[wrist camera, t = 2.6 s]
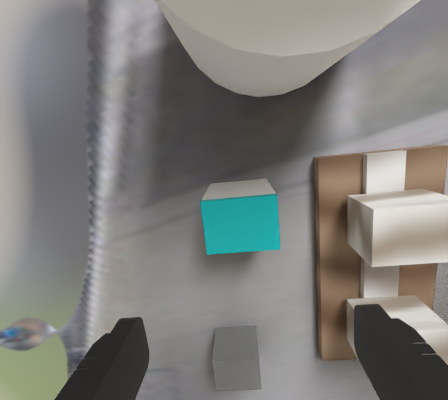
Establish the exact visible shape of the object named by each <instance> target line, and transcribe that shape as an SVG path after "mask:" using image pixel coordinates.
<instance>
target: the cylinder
mask: <svg viewBox="0 0 448 400" xmlns="http://www.w3.org/2000/svg"><path fill="white" fill-rule="evenodd" d="M155 1H156V3H157V5H158V6H159V8H160V10H161V11H162V13H163V14H164V16H165V18H166V19H167V21H168V22H169V24H170V26H171V27H172V29H173V30H174V32H175V34H176V35H177V37H178V39H179V40H180V42H181V43H182V45H183V47H184V48H185V50H186V51H187V52H188V54H189V55H190V57H191V58H192V60H193V61H194V63H195V64H196V66H197V67H198V68H199V69H200V70H201V71H202V72H203V73H204V74H206V75H207V76H208V77H209V78H210V79H211V80H212V81H214V82H215V83H216V84H218V85H220V86H222V87H224V88H226V89H228V90H231V91H233V92H235V93H238V94H243V95H249V96H255V97H265V96H274V95H282V94H285V93H287V92H290V91H292V90H295V89H297V88H300V87H303V86H305V85H306V84H307V83H309V82H310V81H312V80H313V79H314V78H316V77H317V76H318V75H320V74H321V73H323V72H324V71H325V70H327V69H328V68H329V67H331V66H332V65H333V64H335V63H336V62H338V61H339V60H340V59H342V58H343V57H344V56H346V55H347V54H348V53H350V52H351V51H352V50H354V49H355V48H357V47H358V46H359V45H361V44H362V43H363V42H365V41H366V40H367V39H369V38H370V37H371V36H373V35H374V34H376V33H377V32H378V31H380V30H381V29H382V28H384V27H385V26H386V25H388V24H389V23H390V22H392V21H393V20H395V19H396V18H397V17H399V16H400V15H401V14H403V13H404V12H405V11H407V10H408V9H409V8H411V7H412V6H414V5H415V4H416V3H418V2H419V1H420V0H155Z"/></svg>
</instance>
